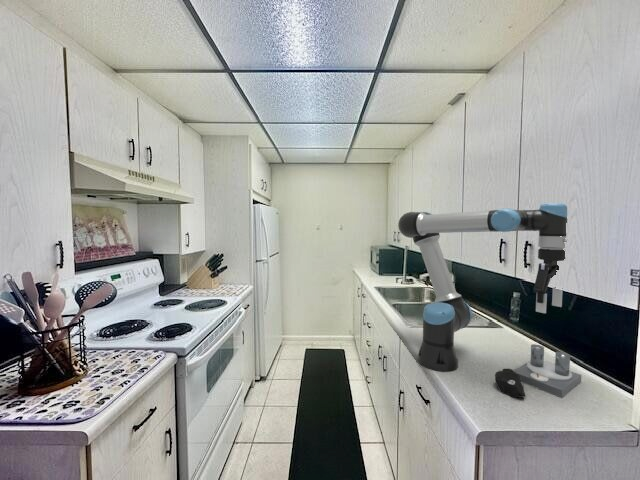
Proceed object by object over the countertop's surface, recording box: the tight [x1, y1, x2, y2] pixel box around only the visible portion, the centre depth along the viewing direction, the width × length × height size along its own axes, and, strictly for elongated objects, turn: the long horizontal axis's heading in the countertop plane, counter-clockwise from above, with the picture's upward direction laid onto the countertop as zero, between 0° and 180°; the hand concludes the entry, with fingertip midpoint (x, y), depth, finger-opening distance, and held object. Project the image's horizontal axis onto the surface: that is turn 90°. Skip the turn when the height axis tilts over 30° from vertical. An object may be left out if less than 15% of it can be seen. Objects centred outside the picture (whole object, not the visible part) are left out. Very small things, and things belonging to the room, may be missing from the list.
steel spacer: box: [554, 351, 571, 376], centre depth 106 cm, size 4×4×7 cm
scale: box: [512, 360, 582, 399], centre depth 108 cm, size 18×15×4 cm
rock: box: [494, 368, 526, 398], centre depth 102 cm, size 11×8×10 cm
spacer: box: [529, 343, 545, 367], centre depth 112 cm, size 4×4×7 cm
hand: (549, 309), depth 104 cm, fingers open, 13 cm apart
